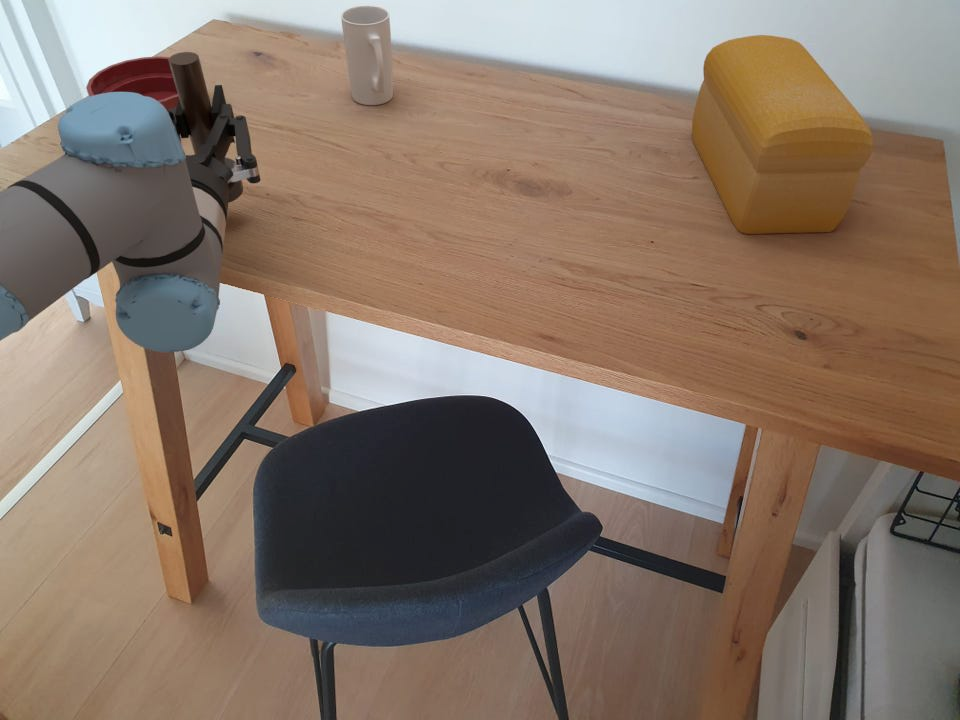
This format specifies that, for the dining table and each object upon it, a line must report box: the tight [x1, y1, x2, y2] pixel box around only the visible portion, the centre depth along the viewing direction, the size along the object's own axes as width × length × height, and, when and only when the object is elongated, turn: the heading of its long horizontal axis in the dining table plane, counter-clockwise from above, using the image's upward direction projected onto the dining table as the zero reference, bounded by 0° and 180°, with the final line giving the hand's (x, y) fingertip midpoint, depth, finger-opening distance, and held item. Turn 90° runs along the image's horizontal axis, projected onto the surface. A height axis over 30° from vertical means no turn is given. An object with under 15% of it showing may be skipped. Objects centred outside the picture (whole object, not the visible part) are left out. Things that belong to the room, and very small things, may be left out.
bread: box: [691, 34, 874, 235], centre depth 95 cm, size 24×13×15 cm, turn 3°
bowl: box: [85, 55, 179, 111], centre depth 109 cm, size 15×15×5 cm
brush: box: [169, 51, 244, 204], centre depth 84 cm, size 6×6×16 cm
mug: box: [340, 5, 394, 106], centre depth 110 cm, size 10×7×12 cm, turn 21°
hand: (204, 97), depth 87 cm, fingers closed on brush, 3 cm apart
